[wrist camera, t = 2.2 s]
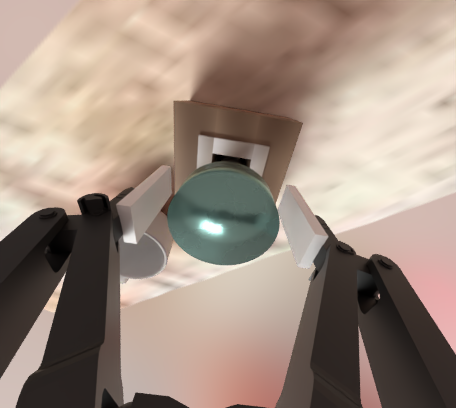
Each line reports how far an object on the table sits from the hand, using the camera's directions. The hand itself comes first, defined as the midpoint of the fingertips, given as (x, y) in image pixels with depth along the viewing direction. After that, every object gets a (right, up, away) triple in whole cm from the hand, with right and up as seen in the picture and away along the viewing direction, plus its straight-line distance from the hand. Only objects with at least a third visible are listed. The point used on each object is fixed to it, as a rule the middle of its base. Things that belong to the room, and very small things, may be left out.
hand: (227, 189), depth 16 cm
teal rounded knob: (0, +5, +9) cm, 10 cm away
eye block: (0, +5, +9) cm, 10 cm away
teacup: (-15, -5, +16) cm, 22 cm away
